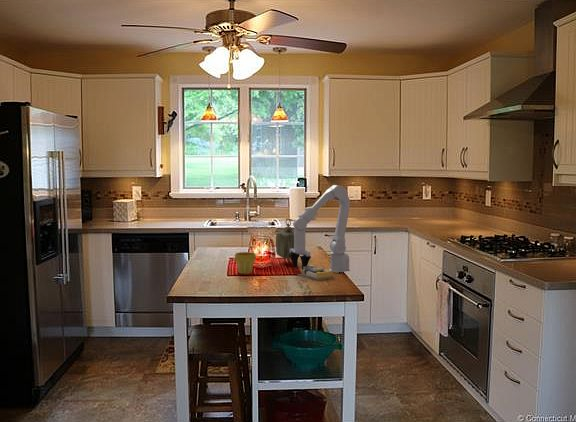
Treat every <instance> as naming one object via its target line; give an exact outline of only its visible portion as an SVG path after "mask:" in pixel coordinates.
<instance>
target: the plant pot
mask: <svg viewBox="0 0 576 422" xmlns="http://www.w3.org/2000/svg"><path fill="white" fill-rule="evenodd" d="M256 256H257V254H256V252H251V251H247V252H246V251H244V252H243V251H242V252H241V251H240V252H236V253H235V254H234V260H235V261H236V266H237V270H238V271H237V272H238V274H243V275H248V274H252V272H253V269H254V268H253V267H254V264H255V261H256V259H257V258H256Z"/></svg>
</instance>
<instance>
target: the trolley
mask: <svg viewBox="0 0 576 422" xmlns="http://www.w3.org/2000/svg"><path fill="white" fill-rule="evenodd" d="M324 270H325V267H315V265H314V264H313V265H307V266H304V267H303V270H302V271H303V272H304V273H305V274H306V272H307V271H308V272H312V273H316V274H317V272H323V271H324ZM304 273H303V274H304Z"/></svg>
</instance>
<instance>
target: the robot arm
mask: <svg viewBox="0 0 576 422" xmlns="http://www.w3.org/2000/svg"><path fill="white" fill-rule="evenodd" d="M330 200H336V201H337V202H338V203H339V208H338V213H337V214H338V215H337V220H336V224H335V225H336V226H335V232H334V235H333V236H332V240H331V241H330V243H329V249H330V250H331V251H330V268H329V269H326V271H333V273H336V274H339V272H340V273H344V272H346V273H347V272H351V269H350V257H349V254H348V253H346V250H347V246H346V237H345V235H346V230H347V224H348V221H349V213H350V207H351V200H350V197H349V195H348V190H346V188H345V187H344V186H343V185H338V184H333V185H331V186H330V187H329V188H327V189H326V190H325V192H324V193H323V194H322V195H321V196H320V197H319V199H317V200H316V201H315V203H313V205H312V206H308V207H305V208H304V211H303V212H302V213H301V214H299V215H298V217H296V218H295V219H294V221H293V223H292V226H293V228H294V230H293V231H294V249H290V253H291V254H289V256H290V258H289V259H290V261H291V264H292V267H293V268H298V265H299V263H298V262H299V259H300V261H301V269H302V271H304V270H303V267H304V266H309V262H310V261H311V258H312V256H311V251H308V250H306V228H307V226H308V224H310V222H311V221H312V220H313V219H314V218H315V217H316V216H317V214H318V213H317V212H318V210H320V209H321V208H322V206H324V205H326V203H327V202H328V201H330ZM299 254H300V258H299Z"/></svg>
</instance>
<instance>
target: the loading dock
mask: <svg viewBox="0 0 576 422" xmlns="http://www.w3.org/2000/svg"><path fill="white" fill-rule="evenodd" d="M297 276H300V277H303V278H307V279H311V280H315V281H322V280H330V279H334V278H335V277H334V272H333V271H327V269H324V271H323V272H317V274H316V273H312V272H310V271H307V272H306V274H305V273H299V274H297Z"/></svg>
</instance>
